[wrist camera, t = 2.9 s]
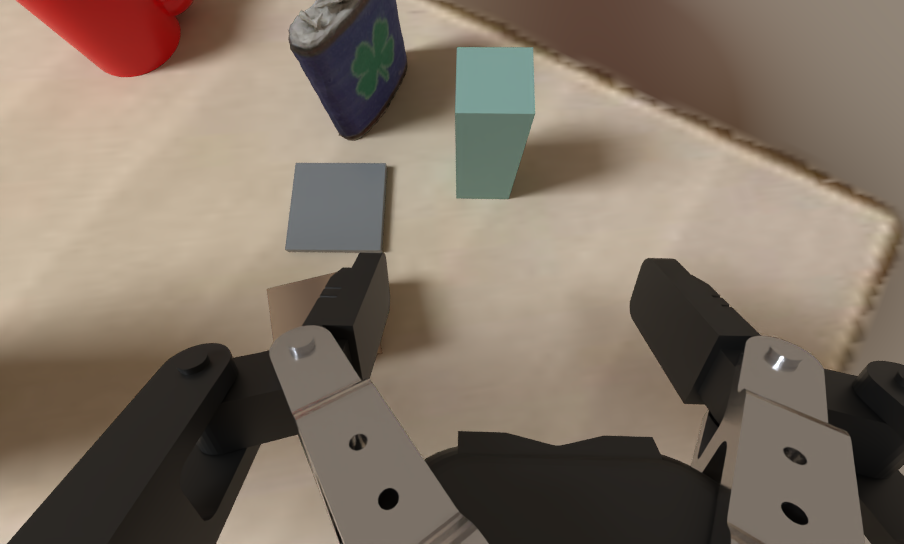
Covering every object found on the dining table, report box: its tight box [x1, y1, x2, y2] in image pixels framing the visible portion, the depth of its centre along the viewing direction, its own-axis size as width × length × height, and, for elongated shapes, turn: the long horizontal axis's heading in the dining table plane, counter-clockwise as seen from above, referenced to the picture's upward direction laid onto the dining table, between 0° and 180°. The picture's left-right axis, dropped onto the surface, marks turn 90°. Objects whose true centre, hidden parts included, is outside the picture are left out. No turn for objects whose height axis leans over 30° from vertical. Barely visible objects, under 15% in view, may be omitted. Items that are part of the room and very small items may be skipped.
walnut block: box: [267, 272, 382, 354], centre depth 24 cm, size 5×5×5 cm
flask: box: [289, 0, 407, 141], centre depth 25 cm, size 9×3×11 cm, turn 151°
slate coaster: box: [285, 163, 387, 253], centre depth 28 cm, size 7×7×1 cm
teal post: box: [455, 47, 535, 199], centre depth 24 cm, size 4×4×10 cm
